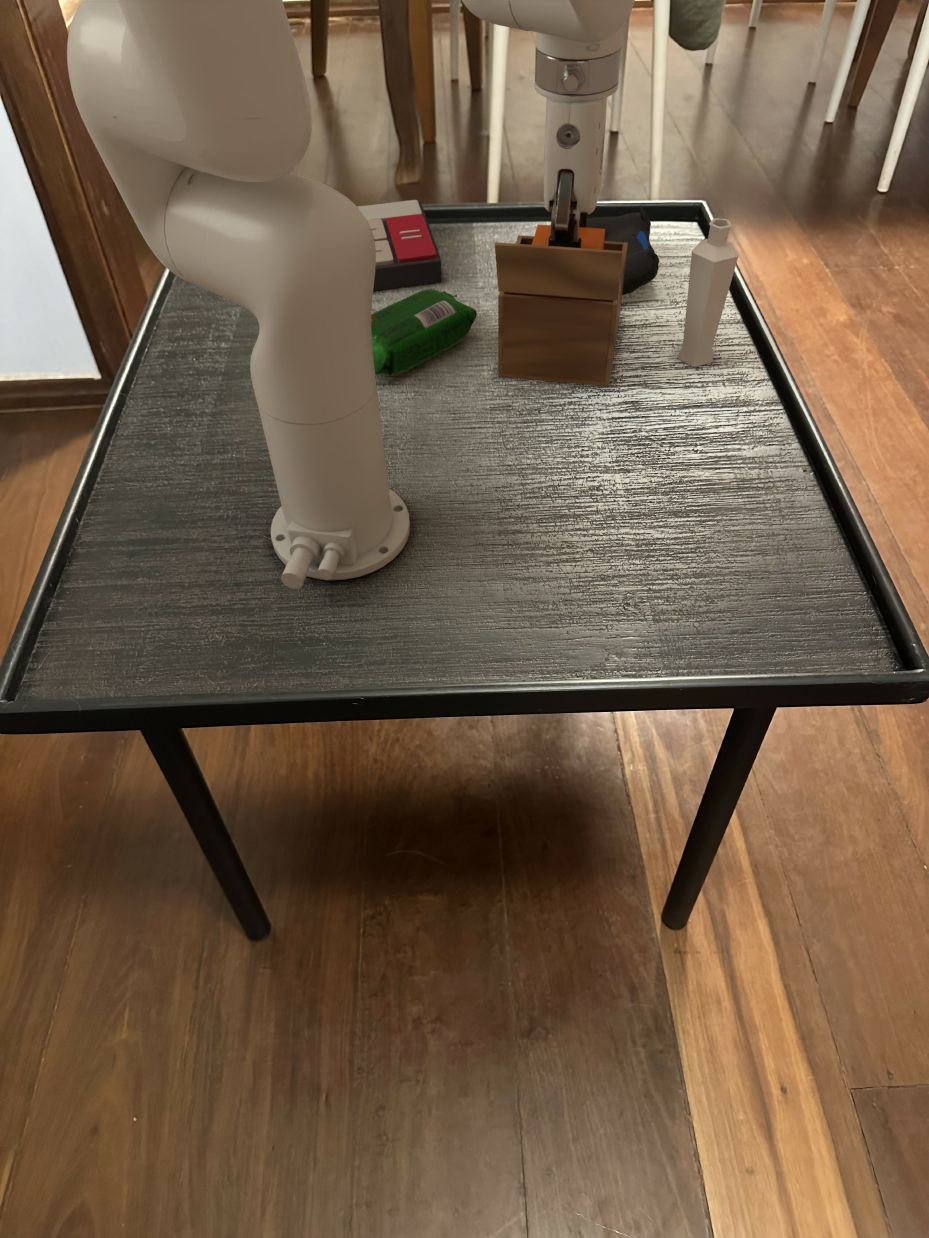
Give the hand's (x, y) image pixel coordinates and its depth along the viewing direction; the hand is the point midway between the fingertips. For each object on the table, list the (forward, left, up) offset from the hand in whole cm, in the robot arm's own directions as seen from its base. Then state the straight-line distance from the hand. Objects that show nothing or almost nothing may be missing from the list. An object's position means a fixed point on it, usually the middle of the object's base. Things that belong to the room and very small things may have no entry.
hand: (566, 261), depth 95 cm
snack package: (-3, +16, -10) cm, 19 cm away
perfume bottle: (0, -15, -10) cm, 18 cm away
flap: (-8, 0, +3) cm, 8 cm away
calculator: (+17, +24, -10) cm, 31 cm away
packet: (0, 0, 0) cm, 0 cm away
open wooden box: (0, 0, -10) cm, 10 cm away
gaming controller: (+17, -4, -10) cm, 20 cm away
